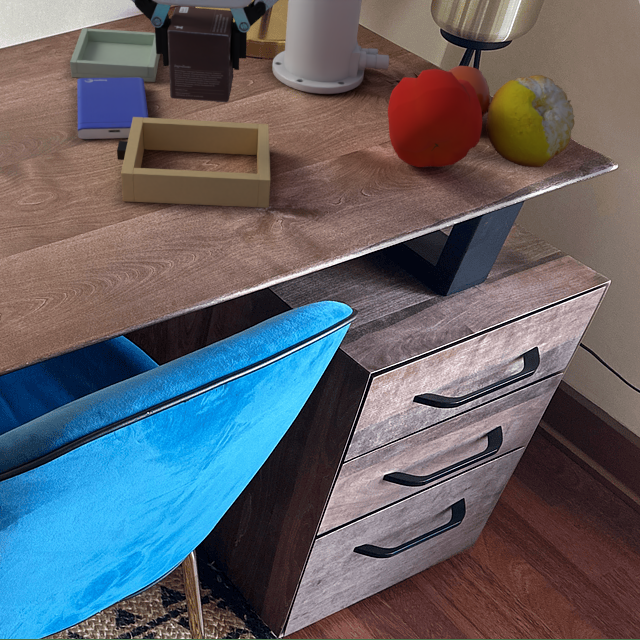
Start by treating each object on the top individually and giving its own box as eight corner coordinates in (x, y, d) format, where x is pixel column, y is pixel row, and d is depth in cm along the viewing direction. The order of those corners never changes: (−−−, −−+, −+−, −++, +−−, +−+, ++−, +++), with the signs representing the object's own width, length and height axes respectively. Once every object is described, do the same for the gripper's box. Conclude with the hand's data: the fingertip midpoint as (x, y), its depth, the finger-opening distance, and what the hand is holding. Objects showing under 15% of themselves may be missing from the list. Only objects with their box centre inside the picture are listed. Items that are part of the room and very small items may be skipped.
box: (228, 105, 85) (229, 35, 80) (169, 99, 84) (166, 30, 79) (234, 77, 89) (235, 9, 84) (177, 72, 89) (175, 4, 84)
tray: (161, 47, 116) (160, 32, 115) (154, 82, 108) (154, 67, 107) (83, 42, 115) (82, 27, 114) (71, 77, 107) (69, 61, 106)
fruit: (564, 177, 102) (580, 157, 94) (479, 170, 103) (487, 149, 95) (571, 91, 104) (587, 63, 96) (486, 84, 104) (495, 57, 97)
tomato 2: (508, 76, 104) (495, 138, 105) (467, 83, 111) (455, 142, 111) (465, 56, 100) (452, 121, 100) (425, 65, 107) (413, 126, 107)
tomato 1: (453, 186, 101) (442, 125, 104) (507, 127, 90) (492, 61, 94) (373, 175, 97) (365, 112, 100) (420, 113, 87) (408, 45, 90)
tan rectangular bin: (267, 150, 98) (268, 124, 96) (268, 207, 89) (270, 180, 87) (125, 143, 96) (123, 116, 94) (113, 201, 88) (110, 172, 85)
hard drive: (76, 77, 104) (77, 127, 95) (143, 76, 106) (149, 125, 97) (78, 89, 105) (78, 139, 96) (144, 88, 107) (150, 137, 98)
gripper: (92, -126, 69) (111, 75, 81) (299, -111, 71) (287, 84, 83) (103, -151, 74) (119, 41, 87) (296, -136, 76) (285, 50, 88)
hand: (201, 60), depth 85 cm, fingers closed on box, 6 cm apart
